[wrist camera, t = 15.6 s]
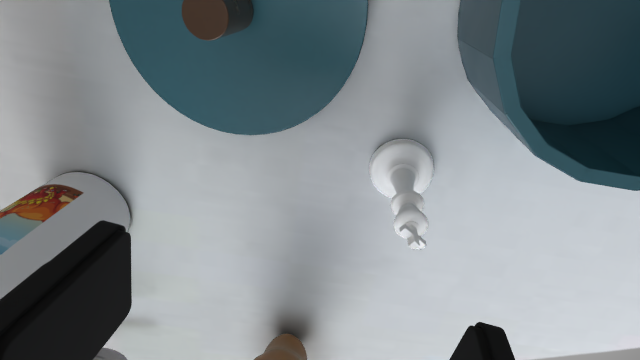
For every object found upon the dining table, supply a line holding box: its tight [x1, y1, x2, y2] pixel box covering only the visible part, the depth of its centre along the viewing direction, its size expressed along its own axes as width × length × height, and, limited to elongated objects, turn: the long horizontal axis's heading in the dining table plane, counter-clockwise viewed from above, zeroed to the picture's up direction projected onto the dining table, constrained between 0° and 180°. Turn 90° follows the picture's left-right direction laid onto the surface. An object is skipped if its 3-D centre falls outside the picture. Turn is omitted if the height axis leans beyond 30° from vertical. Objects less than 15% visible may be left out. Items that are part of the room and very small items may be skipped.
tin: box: [458, 0, 640, 191], centre depth 20 cm, size 16×16×8 cm
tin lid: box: [109, 0, 368, 135], centre depth 23 cm, size 17×17×6 cm
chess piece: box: [369, 139, 434, 250], centre depth 25 cm, size 5×5×10 cm
